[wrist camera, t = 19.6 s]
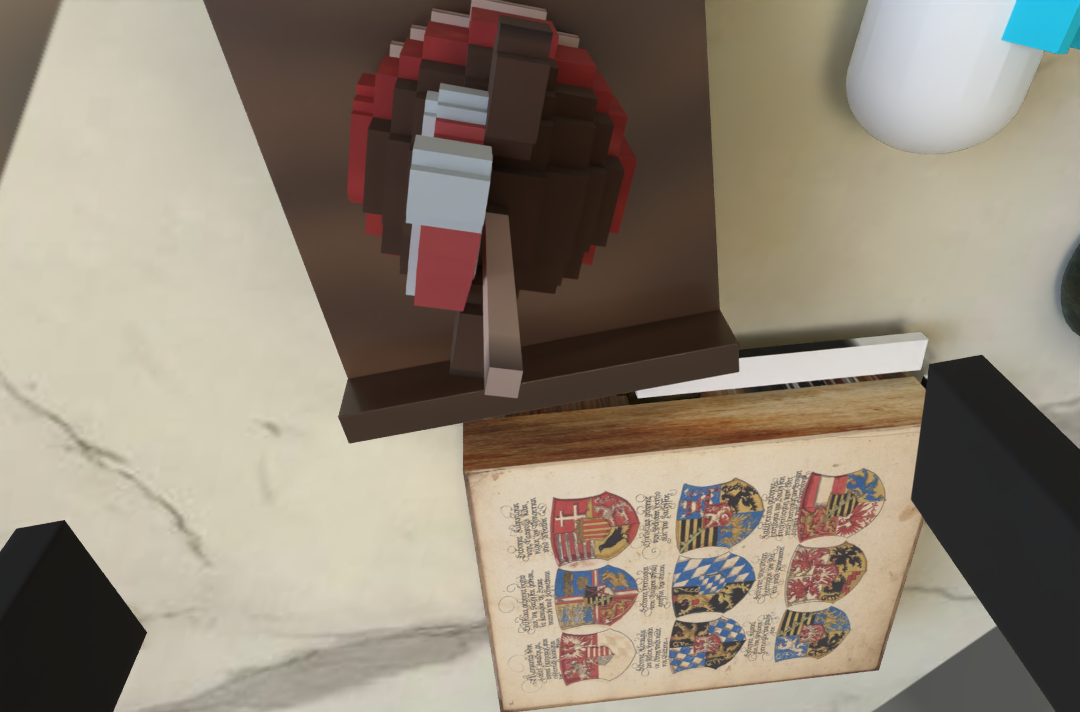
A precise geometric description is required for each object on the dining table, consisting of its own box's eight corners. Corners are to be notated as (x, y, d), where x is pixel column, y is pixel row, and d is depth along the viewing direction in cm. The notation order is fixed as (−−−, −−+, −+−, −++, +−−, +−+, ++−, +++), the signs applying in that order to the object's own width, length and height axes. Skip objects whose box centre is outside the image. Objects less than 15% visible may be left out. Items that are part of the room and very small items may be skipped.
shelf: (230, -63, 31) (151, -42, 24) (661, -152, 31) (722, -160, 23) (371, 341, 42) (348, 444, 34) (691, 281, 41) (740, 372, 34)
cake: (575, 261, 34) (657, 581, 19) (362, 232, 32) (262, 552, 17) (635, 4, 28) (820, 159, 13) (380, -47, 27) (255, 63, 11)
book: (937, 311, 44) (457, 358, 43) (1003, 372, 39) (456, 427, 38) (864, 592, 57) (497, 633, 56) (905, 667, 52) (500, 713, 51)
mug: (964, 200, 29) (1122, -184, 22) (795, 130, 35) (880, -181, 29) (1130, 176, 34) (1297, -141, 28) (955, 119, 41) (1057, -148, 34)
